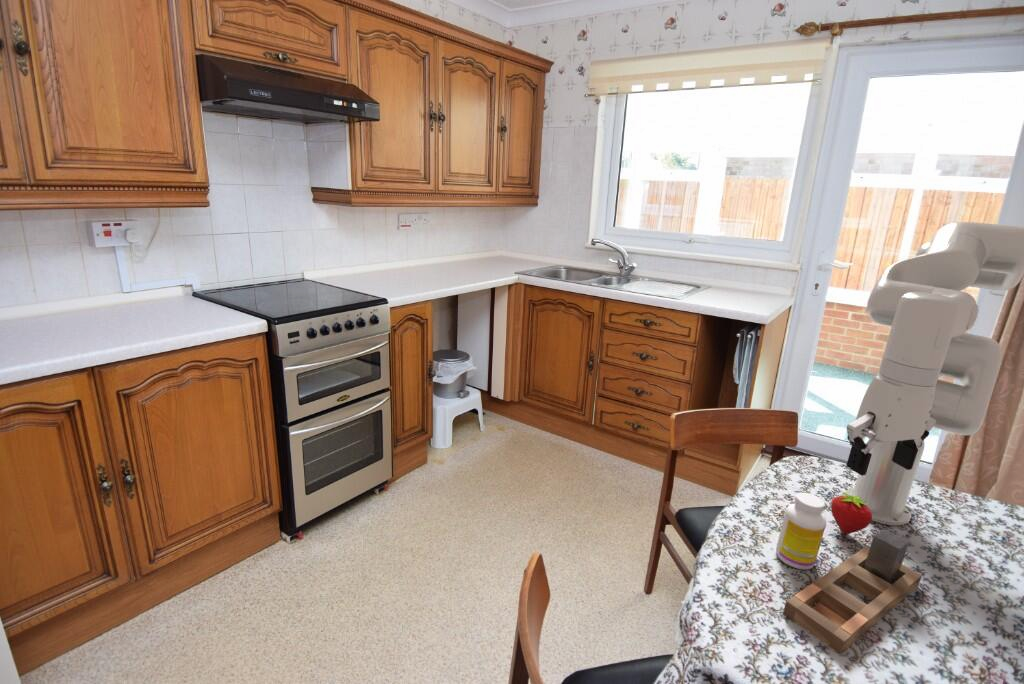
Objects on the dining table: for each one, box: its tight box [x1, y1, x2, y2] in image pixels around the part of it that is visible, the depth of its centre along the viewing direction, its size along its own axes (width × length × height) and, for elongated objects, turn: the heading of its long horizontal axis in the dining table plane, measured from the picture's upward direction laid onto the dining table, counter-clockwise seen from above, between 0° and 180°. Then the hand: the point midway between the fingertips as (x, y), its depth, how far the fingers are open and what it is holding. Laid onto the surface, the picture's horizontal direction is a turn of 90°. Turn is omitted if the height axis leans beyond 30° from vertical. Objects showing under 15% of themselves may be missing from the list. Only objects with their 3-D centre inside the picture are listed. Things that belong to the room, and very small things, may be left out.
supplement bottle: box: [775, 492, 827, 570], centre depth 98 cm, size 7×7×13 cm
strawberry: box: [830, 491, 873, 535], centre depth 107 cm, size 6×8×10 cm
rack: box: [782, 545, 923, 655], centre depth 91 cm, size 28×9×3 cm, turn 124°
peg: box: [864, 528, 910, 585], centre depth 95 cm, size 4×4×9 cm
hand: (878, 468), depth 89 cm, fingers open, 9 cm apart
